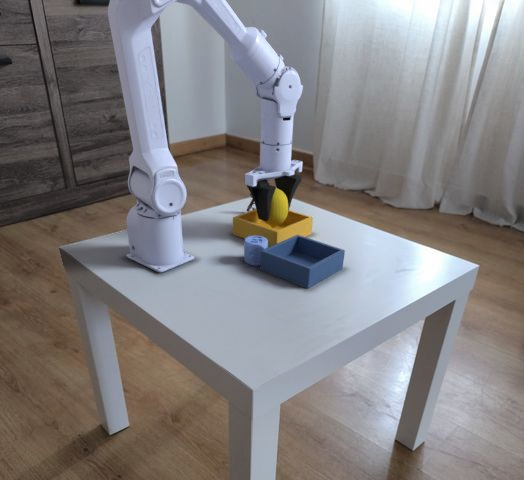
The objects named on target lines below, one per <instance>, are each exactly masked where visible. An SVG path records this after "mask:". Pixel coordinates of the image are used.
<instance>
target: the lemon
mask: <svg viewBox="0 0 524 480" xmlns="http://www.w3.org/2000/svg"><path fill="white" fill-rule="evenodd" d="M275 187H276V186H275ZM287 214H288V200H287V197H286V195H285V194H284V192H283V191H281V190H279V189H277V187H276V189H275V192H274V194H273V197H272V201H271V208H270V217H269V220H268V221H264V222H265V223H266V224H268V225H270V226H271V227H272V228H275V227H276V226H277V225H280V224H281V223H283V222H284V220H285V219H286V217H287Z"/></svg>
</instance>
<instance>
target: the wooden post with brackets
mask: <svg viewBox="0 0 524 480" xmlns="http://www.w3.org/2000/svg"><path fill="white" fill-rule="evenodd" d="M249 196H250V198H251V201H250V203H249V204H248V205H247V208H246V211H247V212H249V211H251V210H255V209H256V208H255V207H253V205H255V203H254V200H253V197H252V195H251V193H250V192H249Z"/></svg>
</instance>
